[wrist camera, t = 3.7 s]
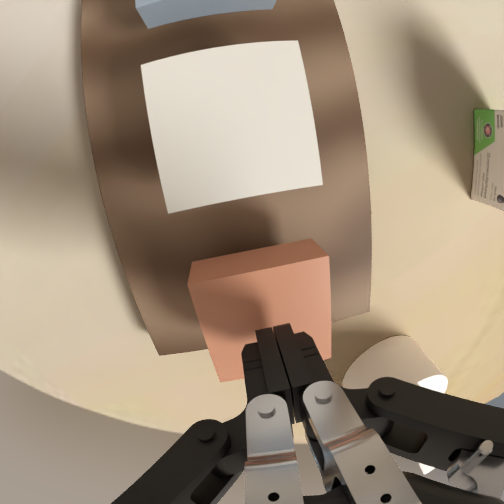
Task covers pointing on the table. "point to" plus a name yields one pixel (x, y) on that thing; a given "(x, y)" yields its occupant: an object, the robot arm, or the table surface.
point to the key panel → (235, 211)
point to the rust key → (261, 299)
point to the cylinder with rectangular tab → (396, 368)
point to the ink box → (489, 158)
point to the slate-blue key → (193, 9)
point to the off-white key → (231, 123)
